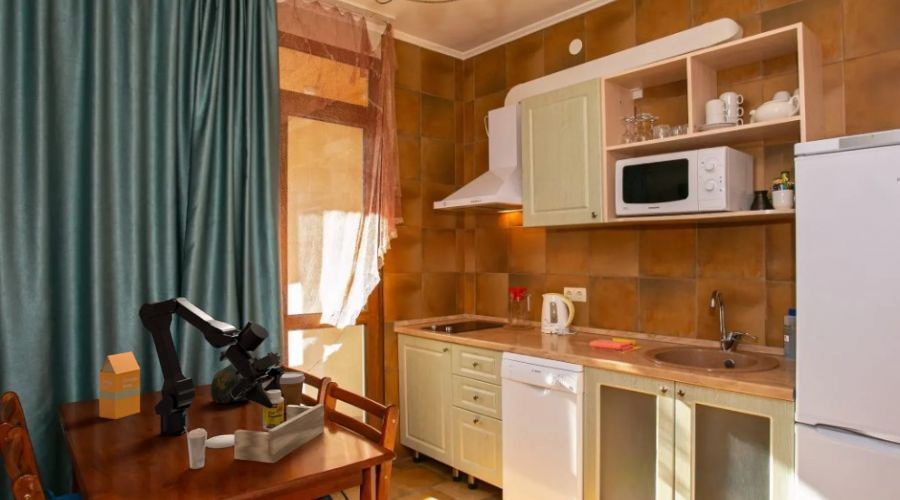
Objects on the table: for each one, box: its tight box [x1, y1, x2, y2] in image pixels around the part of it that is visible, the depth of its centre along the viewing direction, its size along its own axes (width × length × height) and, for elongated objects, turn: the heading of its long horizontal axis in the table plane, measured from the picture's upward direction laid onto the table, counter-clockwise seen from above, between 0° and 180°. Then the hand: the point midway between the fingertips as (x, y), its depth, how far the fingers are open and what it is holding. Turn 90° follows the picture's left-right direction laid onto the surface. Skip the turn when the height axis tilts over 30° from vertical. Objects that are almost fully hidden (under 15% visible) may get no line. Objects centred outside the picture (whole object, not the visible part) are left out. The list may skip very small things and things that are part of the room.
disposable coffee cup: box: [280, 371, 306, 414], centre depth 184 cm, size 10×10×12 cm
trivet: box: [205, 434, 234, 449], centre depth 154 cm, size 10×10×1 cm
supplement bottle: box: [262, 390, 285, 431], centre depth 153 cm, size 6×6×10 cm
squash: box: [210, 363, 249, 405], centre depth 196 cm, size 14×15×15 cm
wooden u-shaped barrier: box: [233, 403, 325, 464], centre depth 152 cm, size 12×26×8 cm, turn 164°
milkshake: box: [184, 427, 208, 470], centre depth 136 cm, size 4×5×10 cm
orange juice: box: [98, 351, 141, 420], centre depth 181 cm, size 8×9×20 cm
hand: (277, 404), depth 152 cm, fingers closed on supplement bottle, 5 cm apart
